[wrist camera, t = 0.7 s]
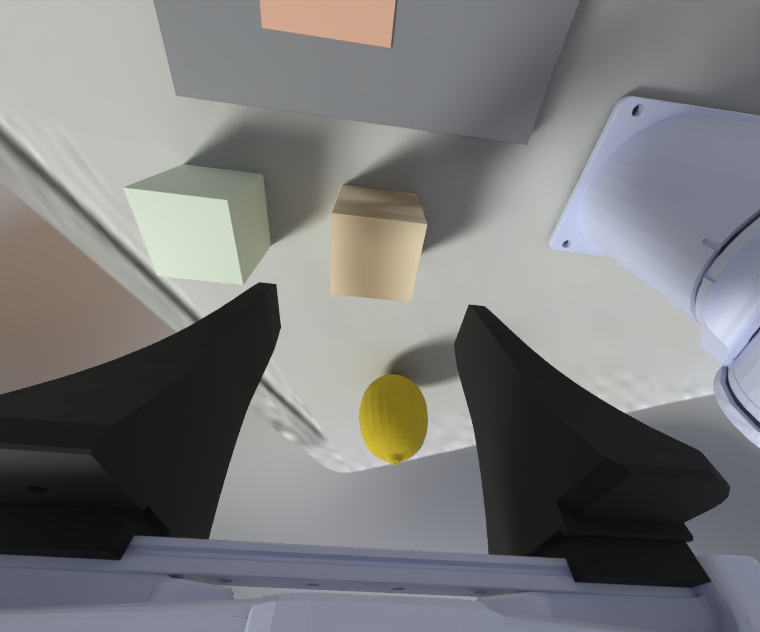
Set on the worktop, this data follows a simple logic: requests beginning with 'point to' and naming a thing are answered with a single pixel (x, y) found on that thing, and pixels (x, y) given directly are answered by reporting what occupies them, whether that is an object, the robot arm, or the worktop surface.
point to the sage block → (202, 222)
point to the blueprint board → (373, 59)
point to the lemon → (393, 418)
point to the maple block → (376, 243)
